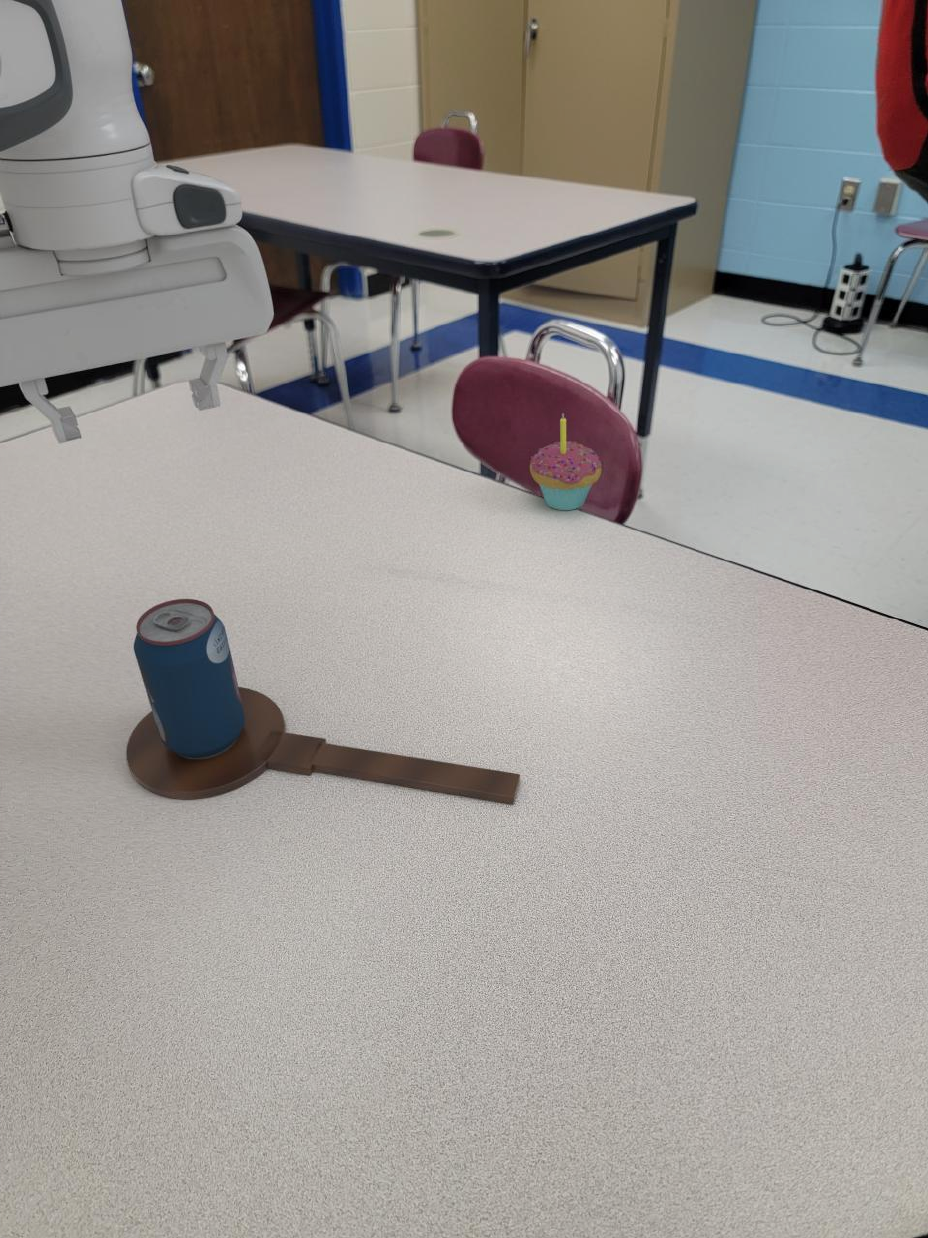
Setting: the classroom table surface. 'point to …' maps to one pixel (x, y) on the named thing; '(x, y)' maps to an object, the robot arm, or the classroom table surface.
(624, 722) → the classroom table surface
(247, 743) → the serving spoon
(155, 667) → the soda can
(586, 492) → the cupcake
